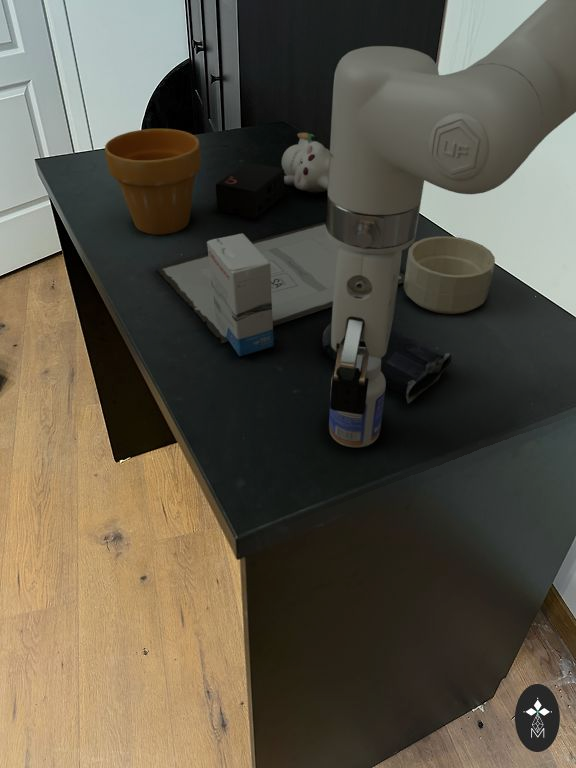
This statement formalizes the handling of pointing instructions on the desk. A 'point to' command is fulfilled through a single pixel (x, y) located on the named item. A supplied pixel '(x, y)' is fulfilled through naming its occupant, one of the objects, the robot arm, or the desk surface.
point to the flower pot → (156, 176)
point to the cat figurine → (306, 165)
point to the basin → (448, 274)
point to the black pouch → (404, 363)
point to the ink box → (241, 293)
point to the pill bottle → (365, 426)
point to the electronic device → (250, 190)
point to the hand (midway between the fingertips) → (355, 378)
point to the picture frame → (288, 276)
